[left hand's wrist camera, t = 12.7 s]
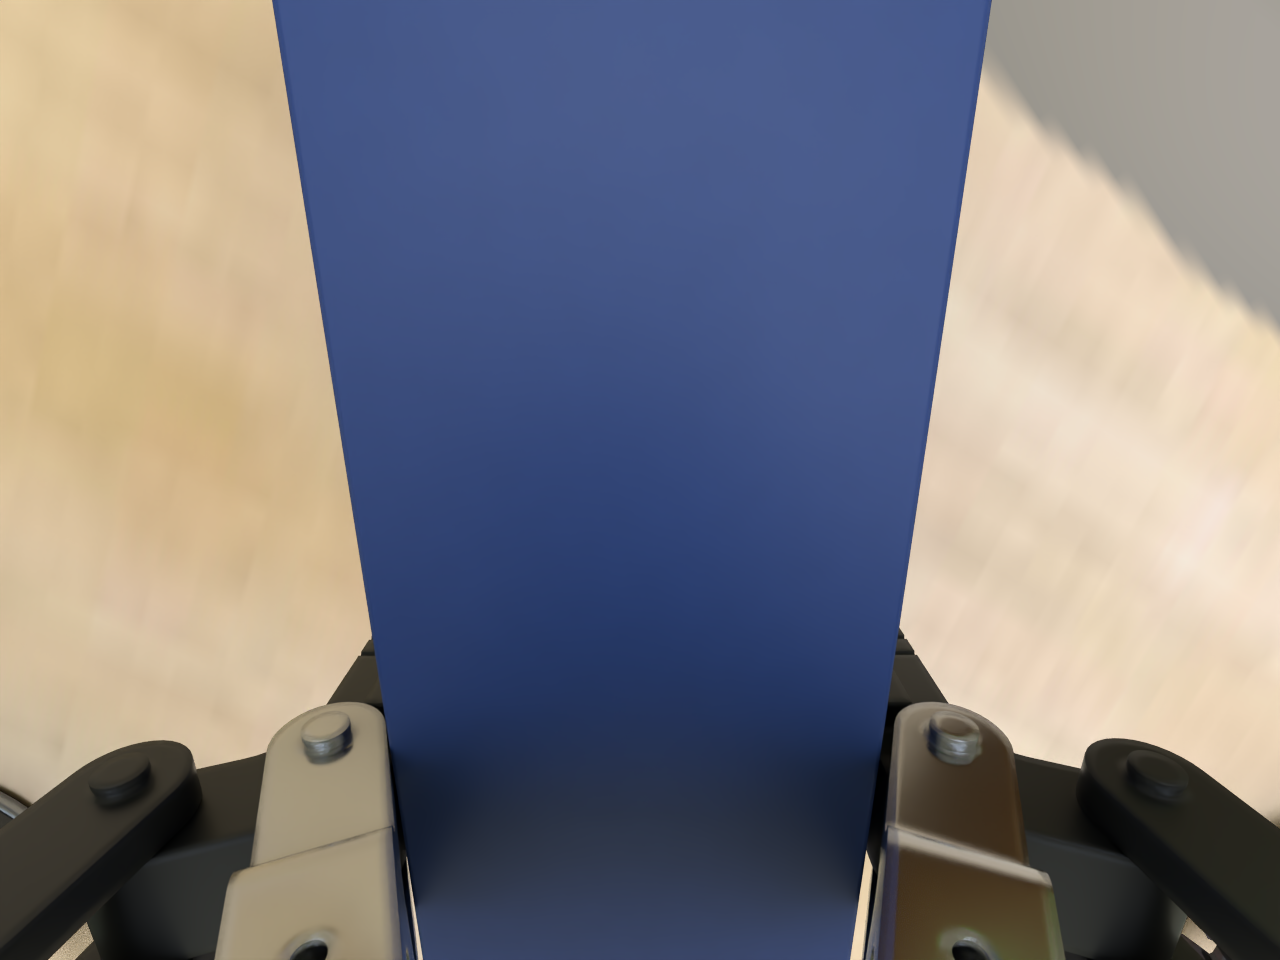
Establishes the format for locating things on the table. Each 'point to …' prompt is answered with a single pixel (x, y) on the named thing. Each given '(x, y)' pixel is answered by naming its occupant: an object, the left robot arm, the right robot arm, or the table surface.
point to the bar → (634, 439)
